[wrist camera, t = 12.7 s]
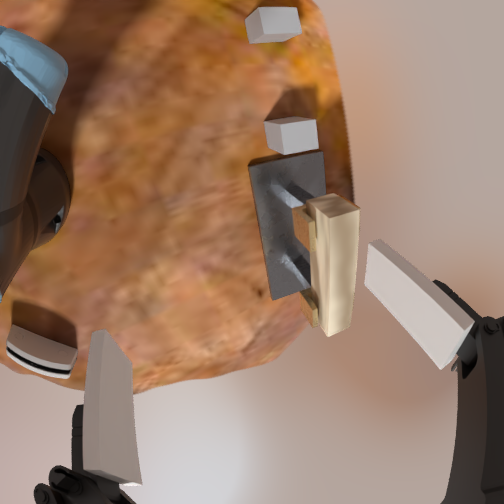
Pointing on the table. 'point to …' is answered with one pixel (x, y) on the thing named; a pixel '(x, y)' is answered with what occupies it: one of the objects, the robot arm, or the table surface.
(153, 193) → the table surface
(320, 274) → the beige long block
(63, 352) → the grey curved block
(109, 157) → the table surface
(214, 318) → the table surface
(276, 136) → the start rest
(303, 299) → the bracket stand
